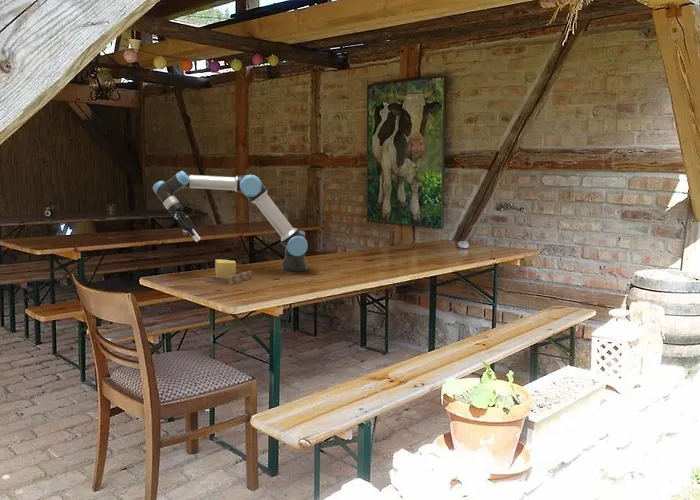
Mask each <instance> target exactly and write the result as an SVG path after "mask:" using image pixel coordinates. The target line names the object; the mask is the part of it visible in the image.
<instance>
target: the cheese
mask: <svg viewBox="0 0 700 500" xmlns="http://www.w3.org/2000/svg"><path fill="white" fill-rule="evenodd" d="M214 270H215V277H222V278H229V277H230V276H234V275H236V271H237V263H236V261H235V260H229V259H215V262H214Z"/></svg>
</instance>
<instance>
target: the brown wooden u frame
mask: <svg viewBox="0 0 700 500" xmlns="http://www.w3.org/2000/svg"><path fill="white" fill-rule="evenodd" d="M251 279H252V271H251V270H248V271H238V270H236V275H234V276H230V277H229V278H222V277H216V276H214V275H213V276H211V275H205V283H212V284H220V285H229V286H232V285H234V284H237V283H241V282H245V281H248V280H251Z"/></svg>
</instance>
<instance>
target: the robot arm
mask: <svg viewBox="0 0 700 500" xmlns="http://www.w3.org/2000/svg"><path fill="white" fill-rule="evenodd" d="M180 189H202V190H203V189H204V190H221V191H222V190H223V191H235V193H241V194H243V195H245V197H246V198H247V200H248V201H249V202H250V203H252V204H255V205H256V206H257V208H258V209H259V210H260V212H261V213H262V214H263V216H264V217H265V219H267V221H268V222H269V223H270V225H271V226H272V228H274V230H275V231H276V232H277V233H278V235H279V236H280V242H281V243H282V244H283V246H284V247H285V248H284V249H285V250H284V258H283V261H282V264H281V270H282V271H287V272H305V271H307V270H308V264H307V261H306V257H305V254H306V252H307V251H308V248H309V246H308V245H309V244H308V240H307V239H306V232H305V231H303V230H302V231H301V230H299V229H298V228H297V227H293V226H292V225H291V223H290V222H289V220H288V219H287V218H286V217H285V215H284V213H282V212H281V210H280V208H278V206H277V205H276V203H275V202H274V201H273V200H272V198H271V197H270V196H269V195H268V189H267V188H266V186H265V185H264V184H263V182H262V180H261V179H260V178H259V177H258V176H256V175H254V174H245V175H236V176H219V175H201V174H198V175H197V174H187V173H186V172H185V171H184V170H180V171H179V172H177V173H176V174H174V175H173V176H172V177H171V178H169V179H168V180H167V181H164V180H159V181H156V183H154V184H153V186H152V190H153V192H154V193H155V196H157V198H158V199H159V200H160V201H161V203H162V204H163V207H164V208H165V209H166V210H167V211H168V213H169V214H170V215H171V216H173V220H175V221H176V222H177V223H178V225H179V226H180V227H181V228H182V229H183V230H184V231H185V232H186V233H187V234H188V233H189V234H190V237H192V239H193V240H194V241H195V242H196V243H198V242H199V241H200V240H201V237H200V235H199V234H198V233H197V232H196V227H195V226H194V223H193V221H192V220H191V218H190V215H189V214H187V215H186V213H185V212H184V211H183V210H184V207H183V205H182V204H181V202H179V200H178V198H177V197H176V196H175V193H176V192H178V191H179V190H180Z"/></svg>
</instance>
